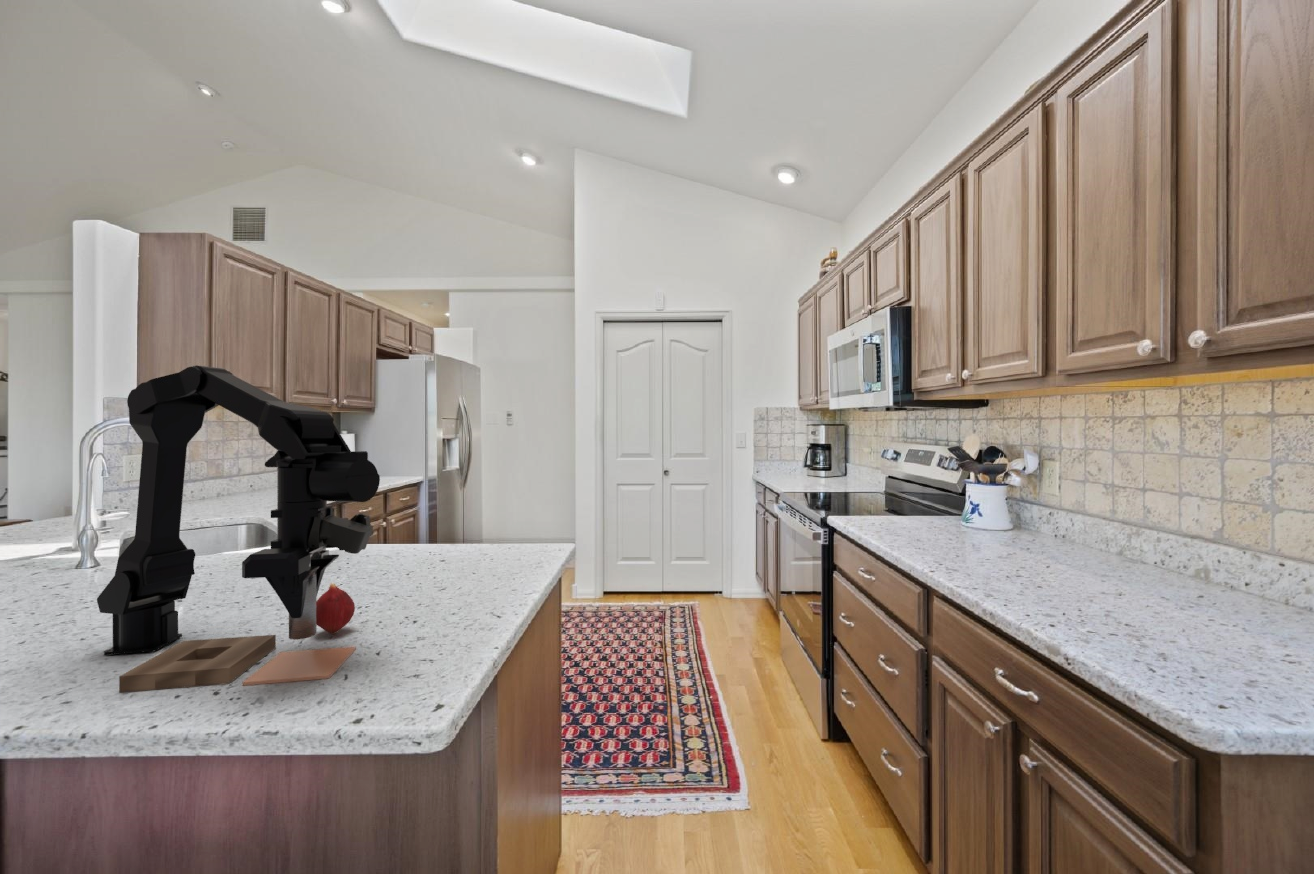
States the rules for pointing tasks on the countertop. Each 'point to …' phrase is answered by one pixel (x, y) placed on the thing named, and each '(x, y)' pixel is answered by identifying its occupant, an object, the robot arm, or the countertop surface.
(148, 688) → the plate
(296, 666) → the tile
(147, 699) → the countertop surface
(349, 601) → the onion
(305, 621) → the peg
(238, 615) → the countertop surface
